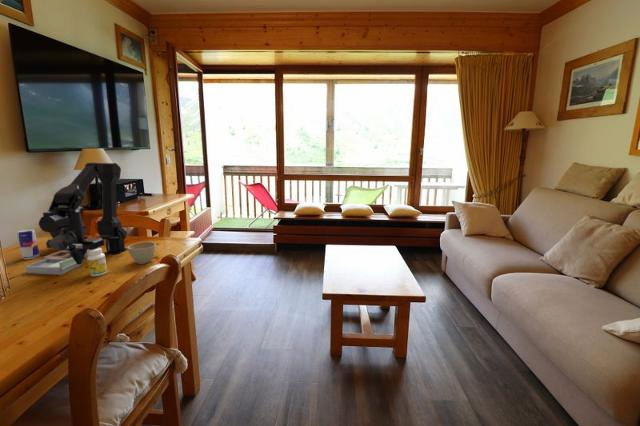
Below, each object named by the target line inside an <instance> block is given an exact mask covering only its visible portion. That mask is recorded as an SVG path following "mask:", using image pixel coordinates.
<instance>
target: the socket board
mask: <svg viewBox="0 0 640 426" xmlns="http://www.w3.org/2000/svg"><path fill="white" fill-rule="evenodd" d="M46 258H67V259H69V258H72V256H71V255H70V253H69V252H67V251H64V250H57V251H55V252H53V253H51V254H48V255H45V256H42V260H44V259H46Z"/></svg>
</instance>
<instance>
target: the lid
mask: <svg viewBox="0 0 640 426" xmlns="http://www.w3.org/2000/svg"><path fill="white" fill-rule="evenodd" d="M75 264H77V263H76V262H75V260H74V259H73V257H72V258H69V259H67V260H64V261H60V262H58V263H55V264H53V265H50V266H48V267H61V268H62V270H63V269H65V268H68V267H70V266H72V265H75Z"/></svg>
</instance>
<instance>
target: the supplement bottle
mask: <svg viewBox="0 0 640 426" xmlns="http://www.w3.org/2000/svg"><path fill="white" fill-rule="evenodd" d="M87 251H88V257H87V258H86V260H87V264H88V270H89V275H90V276H91V277H99V276H103V275H105V274H107V273H108V266H107V261H106V255H105V253H103V250H102V248H101V247H98V248H95V249H92V250H90V249H88V250H87Z"/></svg>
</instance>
